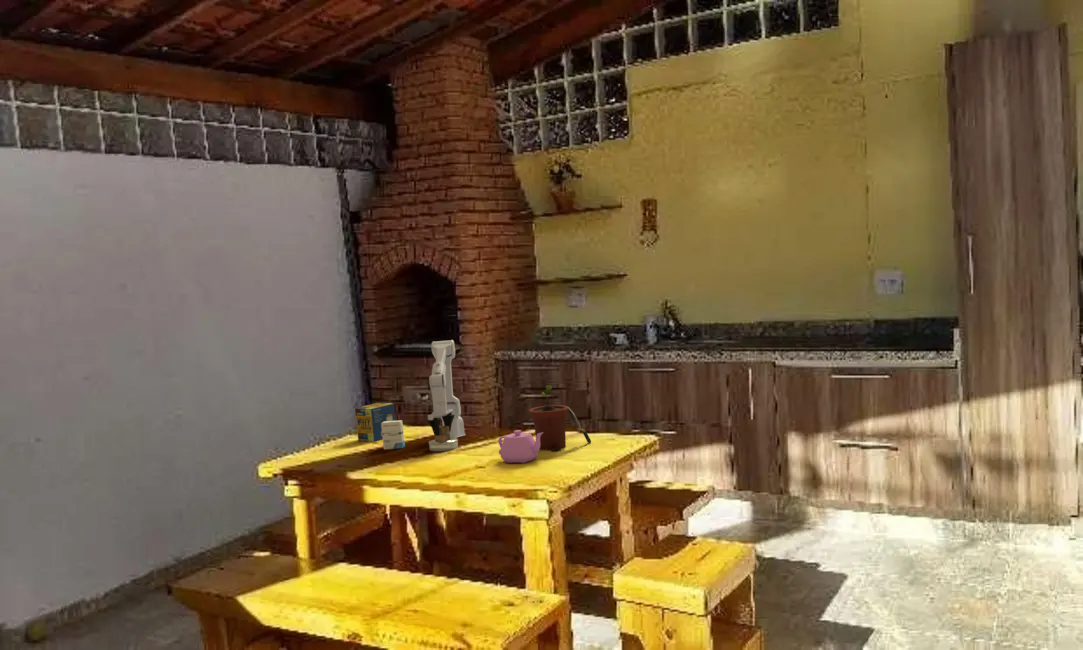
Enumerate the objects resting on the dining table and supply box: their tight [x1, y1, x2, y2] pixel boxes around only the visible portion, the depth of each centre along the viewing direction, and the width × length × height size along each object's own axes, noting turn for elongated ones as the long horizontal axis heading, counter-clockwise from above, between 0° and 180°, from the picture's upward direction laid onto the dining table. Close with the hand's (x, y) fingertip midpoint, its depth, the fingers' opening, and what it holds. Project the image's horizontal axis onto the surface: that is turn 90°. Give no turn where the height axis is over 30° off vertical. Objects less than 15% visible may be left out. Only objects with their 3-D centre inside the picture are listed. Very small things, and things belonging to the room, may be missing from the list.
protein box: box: [354, 402, 396, 443], centre depth 413 cm, size 10×15×16 cm
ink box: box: [381, 419, 406, 450], centre depth 386 cm, size 8×5×12 cm, turn 84°
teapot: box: [498, 429, 544, 464], centre depth 339 cm, size 20×13×12 cm, turn 65°
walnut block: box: [434, 425, 450, 442], centre depth 377 cm, size 4×4×6 cm
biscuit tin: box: [428, 438, 459, 452], centre depth 377 cm, size 12×12×4 cm
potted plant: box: [528, 384, 592, 453], centre depth 359 cm, size 18×22×25 cm
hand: (442, 433), depth 377 cm, fingers open, 7 cm apart
